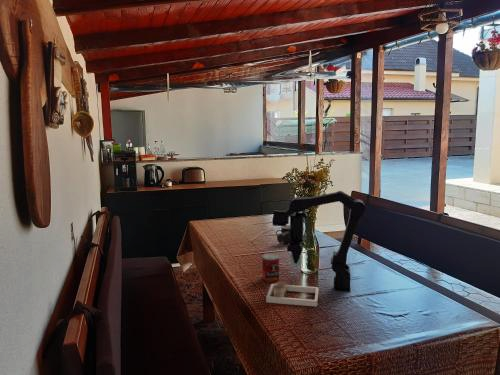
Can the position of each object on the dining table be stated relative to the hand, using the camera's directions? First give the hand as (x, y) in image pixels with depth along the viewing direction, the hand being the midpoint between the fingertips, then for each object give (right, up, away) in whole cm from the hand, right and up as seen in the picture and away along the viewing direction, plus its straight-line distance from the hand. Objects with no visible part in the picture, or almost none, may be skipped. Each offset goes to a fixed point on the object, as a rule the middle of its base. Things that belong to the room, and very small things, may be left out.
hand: (296, 261), depth 180 cm
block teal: (0, -1, 0) cm, 1 cm away
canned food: (-11, -10, +9) cm, 17 cm away
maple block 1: (-7, -12, -7) cm, 16 cm away
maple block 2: (-9, -13, -13) cm, 21 cm away
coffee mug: (+1, -1, +65) cm, 65 cm away
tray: (-3, -13, -11) cm, 17 cm away
